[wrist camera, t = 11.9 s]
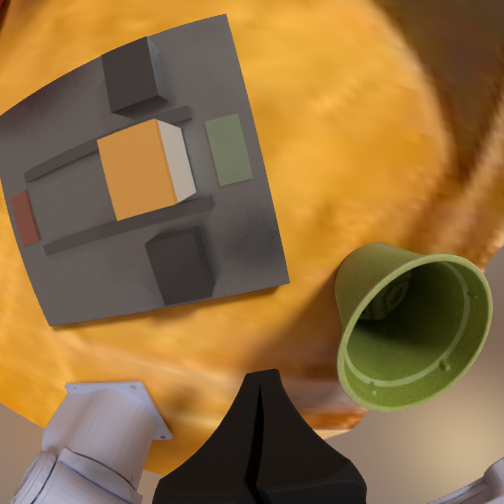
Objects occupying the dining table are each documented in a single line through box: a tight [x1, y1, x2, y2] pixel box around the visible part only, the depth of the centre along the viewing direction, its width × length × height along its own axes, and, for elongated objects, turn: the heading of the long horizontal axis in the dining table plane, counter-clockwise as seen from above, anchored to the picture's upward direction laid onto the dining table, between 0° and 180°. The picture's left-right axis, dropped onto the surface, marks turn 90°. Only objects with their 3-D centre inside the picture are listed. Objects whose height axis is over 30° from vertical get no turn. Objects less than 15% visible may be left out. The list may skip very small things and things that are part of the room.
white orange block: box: [97, 119, 196, 221], centre depth 15 cm, size 3×4×5 cm
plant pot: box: [334, 243, 493, 412], centre depth 18 cm, size 9×9×9 cm
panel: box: [0, 14, 290, 326], centre depth 18 cm, size 20×18×4 cm
